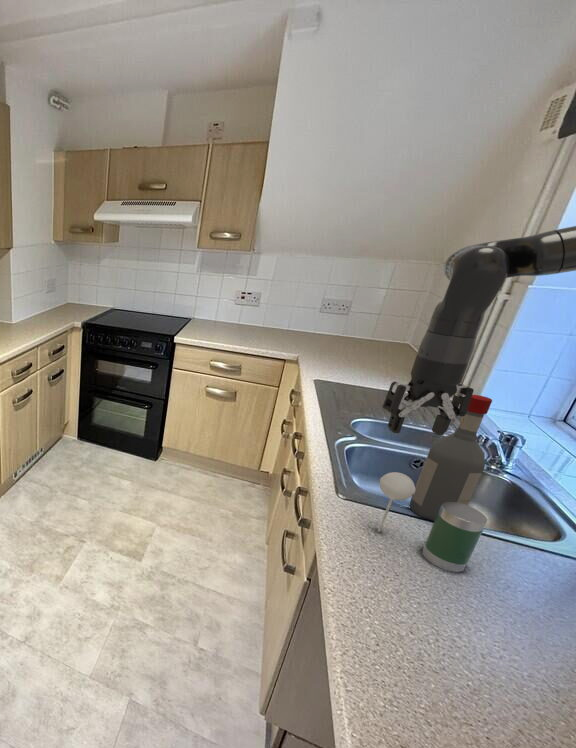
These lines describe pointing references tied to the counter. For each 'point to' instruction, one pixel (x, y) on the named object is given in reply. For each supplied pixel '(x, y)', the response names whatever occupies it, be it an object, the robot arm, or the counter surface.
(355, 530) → the counter surface
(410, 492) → the lollipop
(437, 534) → the can
